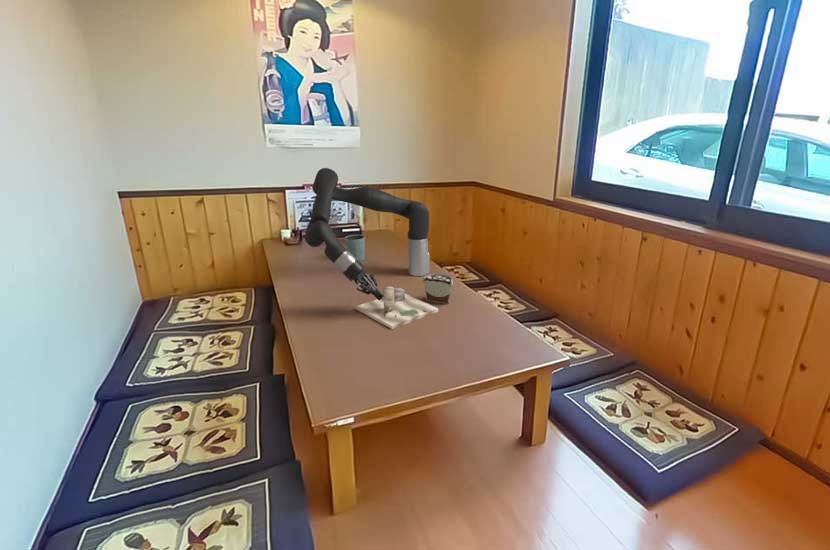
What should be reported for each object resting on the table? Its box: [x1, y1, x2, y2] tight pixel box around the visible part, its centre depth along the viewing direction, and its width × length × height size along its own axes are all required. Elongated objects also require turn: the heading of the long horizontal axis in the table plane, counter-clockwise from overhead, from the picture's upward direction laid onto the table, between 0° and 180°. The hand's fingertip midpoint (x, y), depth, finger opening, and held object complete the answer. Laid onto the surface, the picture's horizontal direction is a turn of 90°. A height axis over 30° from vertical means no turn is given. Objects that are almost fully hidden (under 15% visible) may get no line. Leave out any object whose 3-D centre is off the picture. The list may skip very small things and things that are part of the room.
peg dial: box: [382, 286, 406, 313], centre depth 169 cm, size 18×6×8 cm, turn 166°
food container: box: [422, 273, 454, 305], centre depth 176 cm, size 12×6×10 cm, turn 65°
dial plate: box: [355, 293, 439, 330], centre depth 168 cm, size 22×23×1 cm
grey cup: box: [344, 234, 366, 262], centre depth 227 cm, size 10×10×12 cm
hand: (381, 298), depth 166 cm, fingers closed
